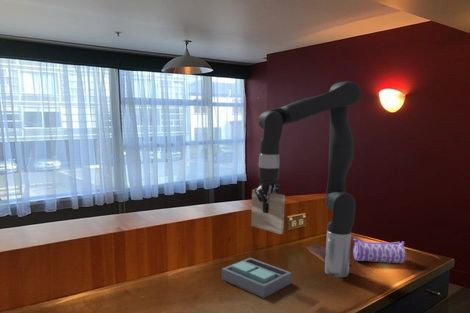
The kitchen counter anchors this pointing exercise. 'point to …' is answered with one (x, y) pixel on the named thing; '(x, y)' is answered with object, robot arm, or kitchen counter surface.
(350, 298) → the kitchen counter surface
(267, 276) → the offcut
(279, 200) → the birch sheet
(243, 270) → the offcut
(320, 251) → the wooden tablet
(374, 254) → the pencil case
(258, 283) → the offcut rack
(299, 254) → the kitchen counter surface
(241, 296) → the kitchen counter surface
